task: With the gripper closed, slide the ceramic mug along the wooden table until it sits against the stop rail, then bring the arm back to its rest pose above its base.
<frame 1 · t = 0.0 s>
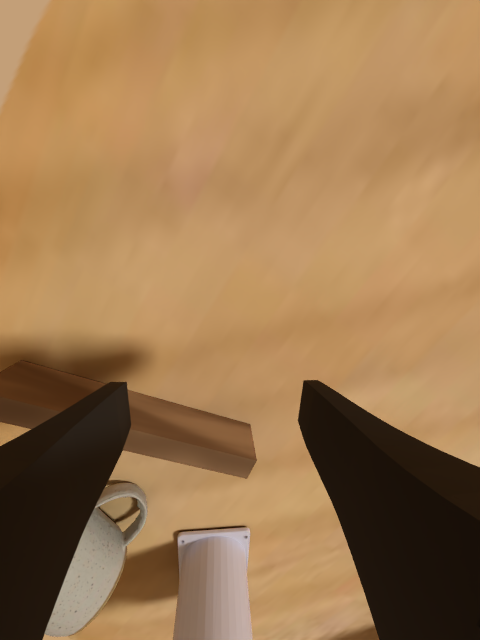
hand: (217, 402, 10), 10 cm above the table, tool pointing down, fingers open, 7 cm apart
ceramic mug: (98, 504, 24), on the table
stop rail: (143, 404, 21), on the table
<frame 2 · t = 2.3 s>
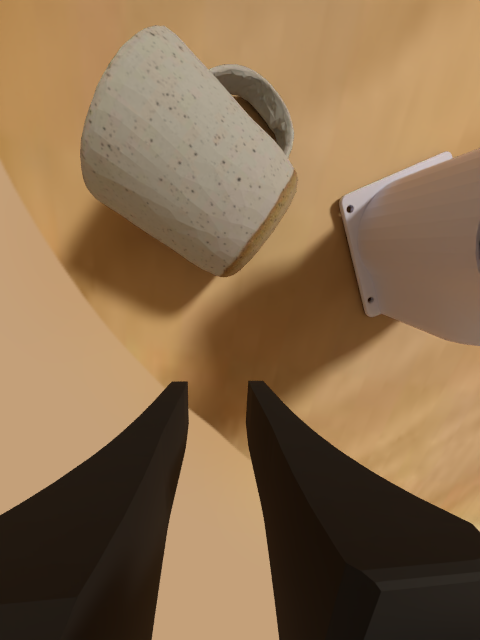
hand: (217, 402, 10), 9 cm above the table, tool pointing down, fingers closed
ceramic mug: (213, 177, 16), on the table
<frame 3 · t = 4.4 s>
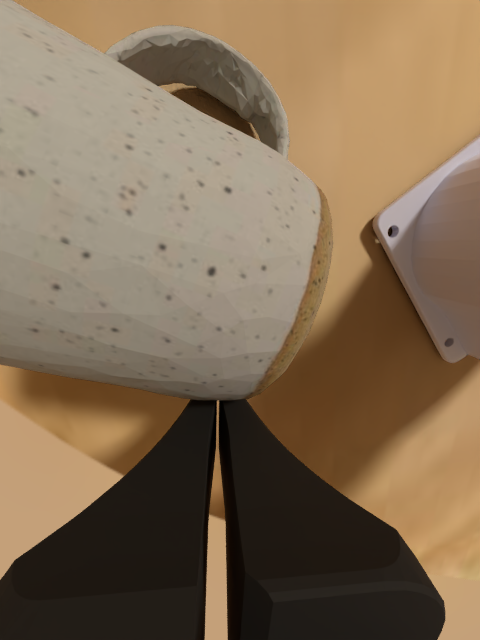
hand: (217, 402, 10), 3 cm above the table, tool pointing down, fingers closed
ceramic mug: (178, 220, 10), on the table
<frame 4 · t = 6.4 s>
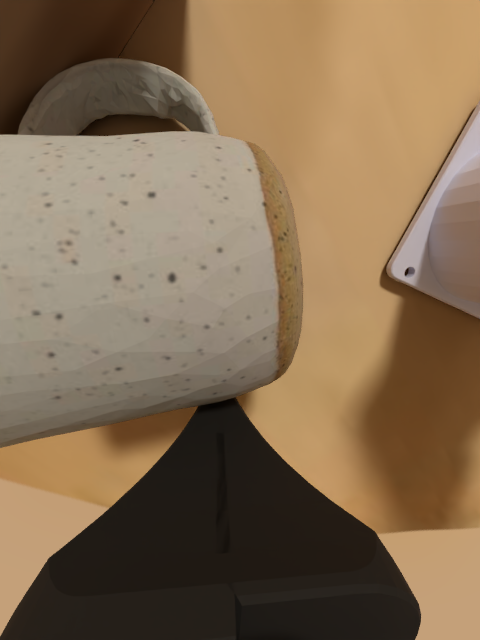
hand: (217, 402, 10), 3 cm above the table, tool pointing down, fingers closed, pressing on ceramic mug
ceramic mug: (155, 243, 10), on the table, touching gripper, stop rail
stop rail: (4, 175, 9), on the table
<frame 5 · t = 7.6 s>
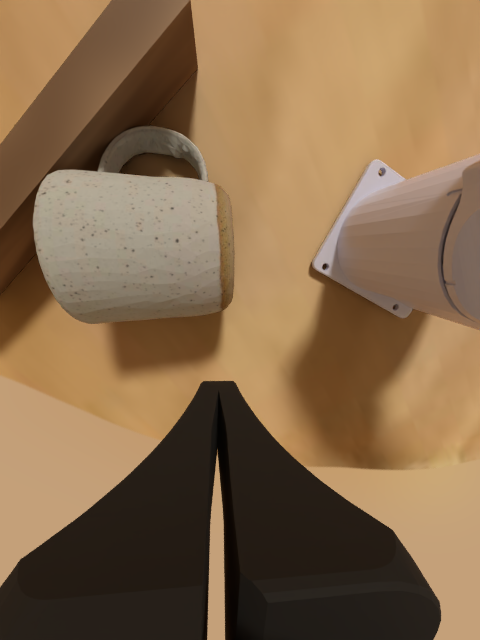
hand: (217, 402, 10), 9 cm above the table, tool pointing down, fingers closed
ceramic mug: (164, 231, 16), on the table
stop rail: (74, 181, 15), on the table
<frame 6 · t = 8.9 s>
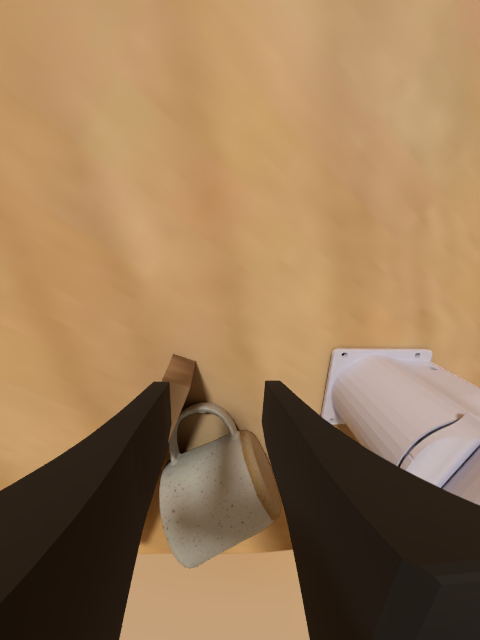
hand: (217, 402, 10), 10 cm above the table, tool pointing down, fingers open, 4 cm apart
ceramic mug: (213, 441, 23), on the table
stop rail: (151, 446, 23), on the table
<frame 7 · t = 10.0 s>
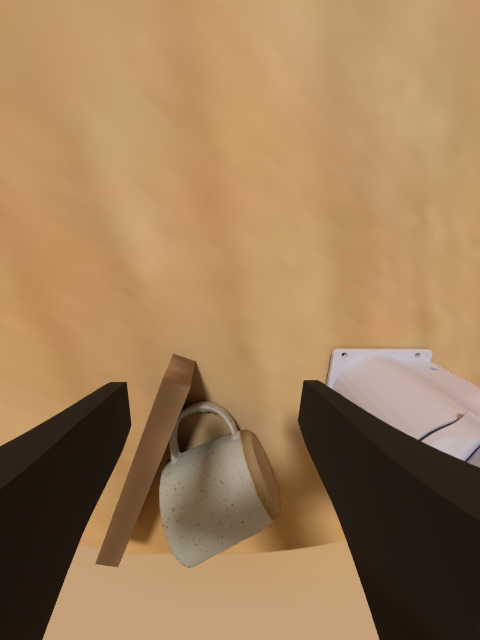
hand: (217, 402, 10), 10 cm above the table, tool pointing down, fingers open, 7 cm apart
ceramic mug: (213, 441, 23), on the table
stop rail: (151, 446, 23), on the table
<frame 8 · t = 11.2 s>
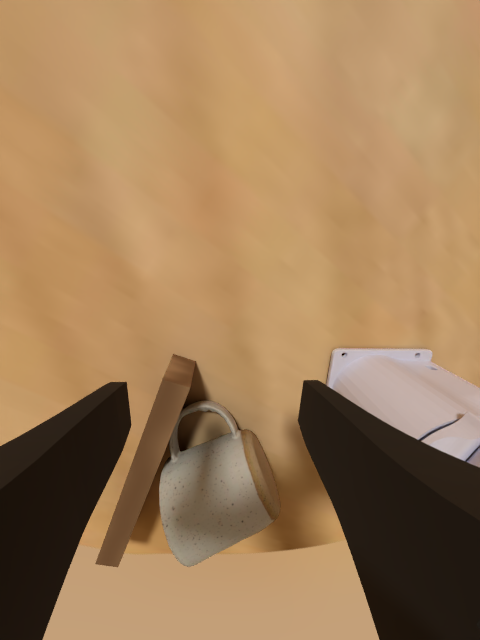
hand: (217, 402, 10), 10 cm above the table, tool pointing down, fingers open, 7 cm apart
ceramic mug: (213, 440, 23), on the table
stop rail: (151, 446, 23), on the table
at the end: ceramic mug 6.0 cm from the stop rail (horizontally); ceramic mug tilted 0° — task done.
